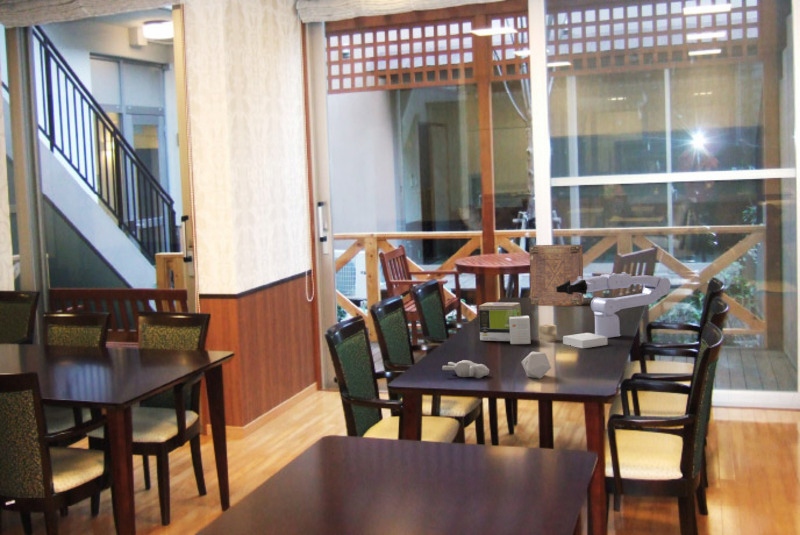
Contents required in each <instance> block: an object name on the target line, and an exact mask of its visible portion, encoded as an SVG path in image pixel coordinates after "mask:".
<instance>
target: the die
mask: <svg viewBox="0 0 800 535" xmlns="http://www.w3.org/2000/svg"><path fill="white" fill-rule="evenodd" d="M521 365H522V367H523V369H524V371H525V374H526V377H528V378H533V379H534V378H535V379H541V378H543V377H544V376H545V375H546V374H547V373H548V372H549V371H550V370H551V369H552V366H551V364H550V361H549V359H548V356H547V353H546V352H540V351H531V352H530V353H529V354H528V355H527V356H525V357H524V359H523V360H522V361H521Z"/></svg>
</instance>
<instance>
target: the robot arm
mask: <svg viewBox="0 0 800 535" xmlns="http://www.w3.org/2000/svg"><path fill="white" fill-rule="evenodd" d="M671 284H672V283H671V281H670V279H669V278H668V277H660V276H654V275H646V274H644V275H635V276H634V275H633V276H632V275H630V274H629V273H627V271H626V272H624V271H622V272H621V273H616V272H612V274H608V273H602V274H601V275H597V276H590V277H587V278H583V279H582V277H581V276H579V277H578V280H576V281H575V282H573V283H572V284H570V280H568V281H566V282H565V283H564V284H562V285H560V286H558V287H556V290H557V292H558V293H567V294H573V292H577V293H579V294H583V295H586V294H588V293H591V292H593V293H594V292H599V291H603V290H607V289H608V290H616V289H625V288H630V287H631V286H632V285H642V290H641V292H642V293H636V294H630V295H625V296H618V297H599V296H595V297H593V299H591V302H590V309H591V311H592V312H593V315H594V334H596V335H601V336H605V337H607V339H609V338H615V337H620V336H622V334H620V333H621V332H620V331H621V330H620V318H619V316H618V315H617V314H616V313H617V312H620V310H624V309H629V308H635V307H641V306H647V305H652V304H654V303H655V302H657V301H658V300H660V298H662V297H663V296H667V295H668V293H669V291H670V289H671Z"/></svg>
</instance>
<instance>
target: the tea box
mask: <svg viewBox="0 0 800 535" xmlns="http://www.w3.org/2000/svg"><path fill="white" fill-rule="evenodd" d="M511 316H522V308H521V302H485V303H482V304H480V305H478V317H479V318H478V322H479V323H478V324H479V339H480V341H483V342H484V341H489V342H490V341H491V342H492V341H493V342H494V341H495V342H510V325H509V317H511Z"/></svg>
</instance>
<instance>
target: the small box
mask: <svg viewBox="0 0 800 535" xmlns="http://www.w3.org/2000/svg"><path fill="white" fill-rule="evenodd" d="M530 320H531V318H530V316H529V315H521V316H511V317H509V325H510V341H509V343H510V345H528V344H529V345H530V344H531V343H532V342H531V321H530Z"/></svg>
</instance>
